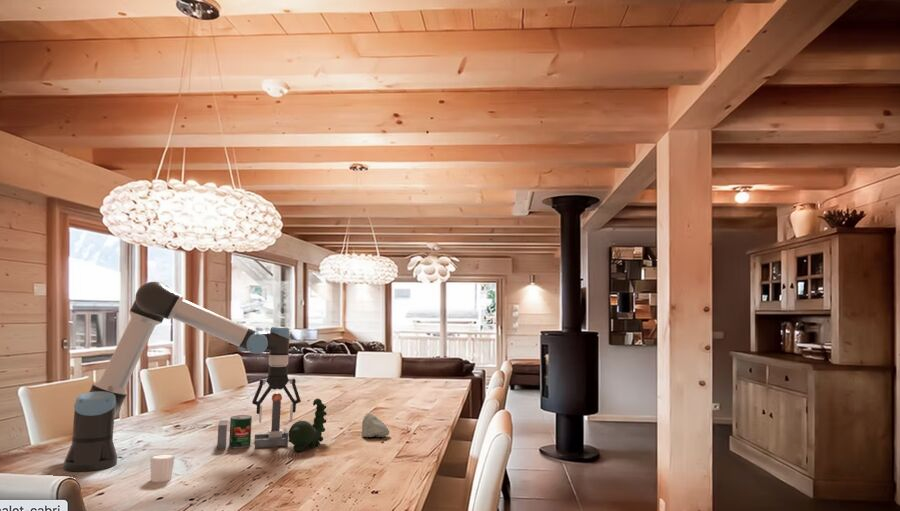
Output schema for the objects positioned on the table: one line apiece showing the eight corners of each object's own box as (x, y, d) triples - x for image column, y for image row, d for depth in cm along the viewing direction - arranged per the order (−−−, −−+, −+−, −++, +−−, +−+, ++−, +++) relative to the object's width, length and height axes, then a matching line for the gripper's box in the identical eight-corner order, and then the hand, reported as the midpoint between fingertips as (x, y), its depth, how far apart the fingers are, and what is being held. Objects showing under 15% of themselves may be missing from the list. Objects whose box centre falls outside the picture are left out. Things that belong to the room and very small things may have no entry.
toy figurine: (308, 445, 235) (278, 453, 212) (312, 397, 239) (283, 400, 215) (330, 446, 233) (301, 455, 209) (334, 398, 237) (306, 401, 213)
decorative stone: (351, 436, 244) (359, 419, 240) (363, 423, 254) (371, 406, 250) (376, 454, 242) (385, 437, 238) (388, 439, 252) (396, 423, 248)
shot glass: (167, 475, 184) (168, 452, 184) (177, 479, 179) (179, 456, 180) (144, 479, 179) (146, 456, 179) (154, 484, 174) (156, 460, 175)
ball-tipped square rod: (281, 444, 227) (284, 393, 229) (268, 445, 225) (270, 394, 227) (280, 440, 233) (283, 391, 235) (267, 441, 232) (270, 391, 234)
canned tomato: (241, 442, 230) (242, 414, 231) (254, 445, 226) (256, 416, 227) (224, 446, 224) (226, 417, 225) (238, 449, 220) (239, 419, 221)
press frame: (287, 446, 226) (288, 422, 226) (216, 450, 217) (218, 425, 218) (285, 440, 236) (286, 417, 237) (218, 443, 227) (219, 420, 228)
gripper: (307, 364, 240) (305, 418, 237) (247, 365, 232) (244, 421, 230) (309, 366, 233) (307, 422, 230) (247, 366, 225) (244, 424, 223)
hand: (275, 421), depth 230 cm, fingers open, 11 cm apart
